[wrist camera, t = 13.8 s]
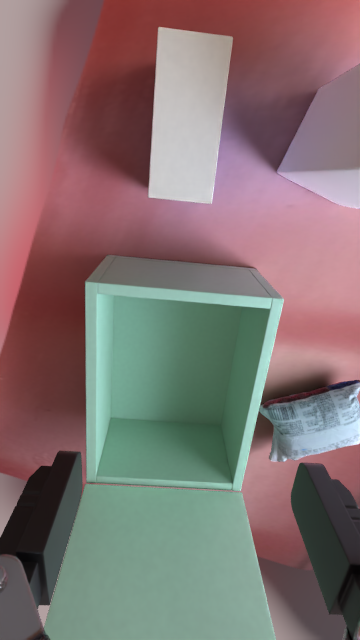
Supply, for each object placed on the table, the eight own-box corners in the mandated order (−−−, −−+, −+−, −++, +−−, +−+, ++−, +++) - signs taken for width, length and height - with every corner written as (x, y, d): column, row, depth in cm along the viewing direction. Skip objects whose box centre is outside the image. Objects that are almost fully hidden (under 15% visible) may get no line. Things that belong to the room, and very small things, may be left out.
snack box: (219, 66, 28) (233, 36, 22) (204, 199, 32) (211, 204, 26) (161, 59, 27) (158, 26, 21) (152, 193, 31) (147, 197, 25)
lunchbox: (107, 254, 33) (84, 281, 25) (255, 268, 34) (284, 299, 26) (104, 418, 41) (86, 482, 32) (226, 426, 42) (240, 491, 33)
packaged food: (359, 426, 42) (382, 456, 38) (265, 449, 43) (276, 480, 39) (352, 368, 39) (376, 392, 35) (251, 393, 40) (261, 420, 36)
